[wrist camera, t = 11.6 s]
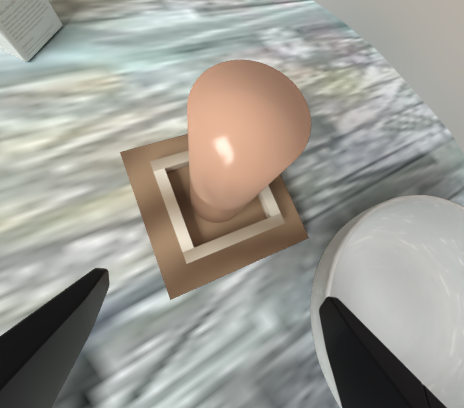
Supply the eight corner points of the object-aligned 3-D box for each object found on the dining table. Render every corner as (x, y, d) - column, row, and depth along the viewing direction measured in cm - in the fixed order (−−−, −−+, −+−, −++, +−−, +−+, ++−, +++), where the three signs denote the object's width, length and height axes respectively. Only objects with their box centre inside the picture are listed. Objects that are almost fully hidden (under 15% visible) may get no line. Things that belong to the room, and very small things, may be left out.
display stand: (301, 238, 23) (315, 236, 21) (171, 296, 20) (168, 302, 17) (250, 124, 25) (257, 109, 23) (124, 159, 22) (115, 146, 19)
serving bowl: (384, 485, 20) (481, 603, 13) (242, 290, 21) (265, 306, 15) (493, 320, 25) (600, 344, 19) (374, 176, 27) (434, 150, 20)
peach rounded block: (250, 212, 21) (331, 151, 9) (201, 230, 20) (216, 191, 8) (230, 166, 22) (280, 50, 10) (182, 181, 21) (168, 72, 8)
